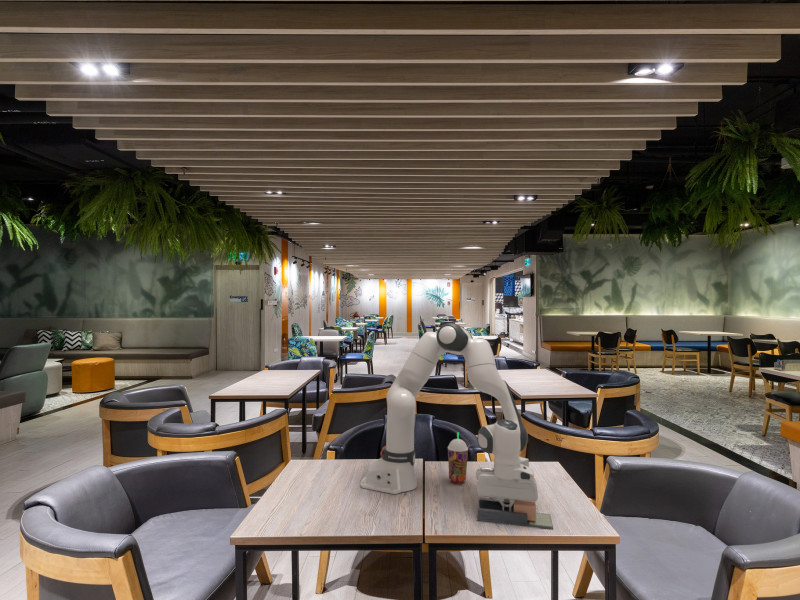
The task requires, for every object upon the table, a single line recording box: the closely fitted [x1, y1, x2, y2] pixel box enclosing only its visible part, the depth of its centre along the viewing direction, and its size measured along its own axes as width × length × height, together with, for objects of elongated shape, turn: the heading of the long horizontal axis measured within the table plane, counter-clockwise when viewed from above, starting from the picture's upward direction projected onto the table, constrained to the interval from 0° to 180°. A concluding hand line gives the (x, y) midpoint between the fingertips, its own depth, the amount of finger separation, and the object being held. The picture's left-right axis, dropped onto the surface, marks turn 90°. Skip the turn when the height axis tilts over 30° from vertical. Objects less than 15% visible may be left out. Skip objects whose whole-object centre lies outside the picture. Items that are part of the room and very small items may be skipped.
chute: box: [476, 497, 554, 530], centre depth 154 cm, size 24×10×4 cm, turn 77°
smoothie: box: [447, 431, 469, 485], centre depth 187 cm, size 8×8×20 cm
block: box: [514, 500, 537, 521], centre depth 153 cm, size 7×5×4 cm
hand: (506, 510), depth 155 cm, fingers closed
